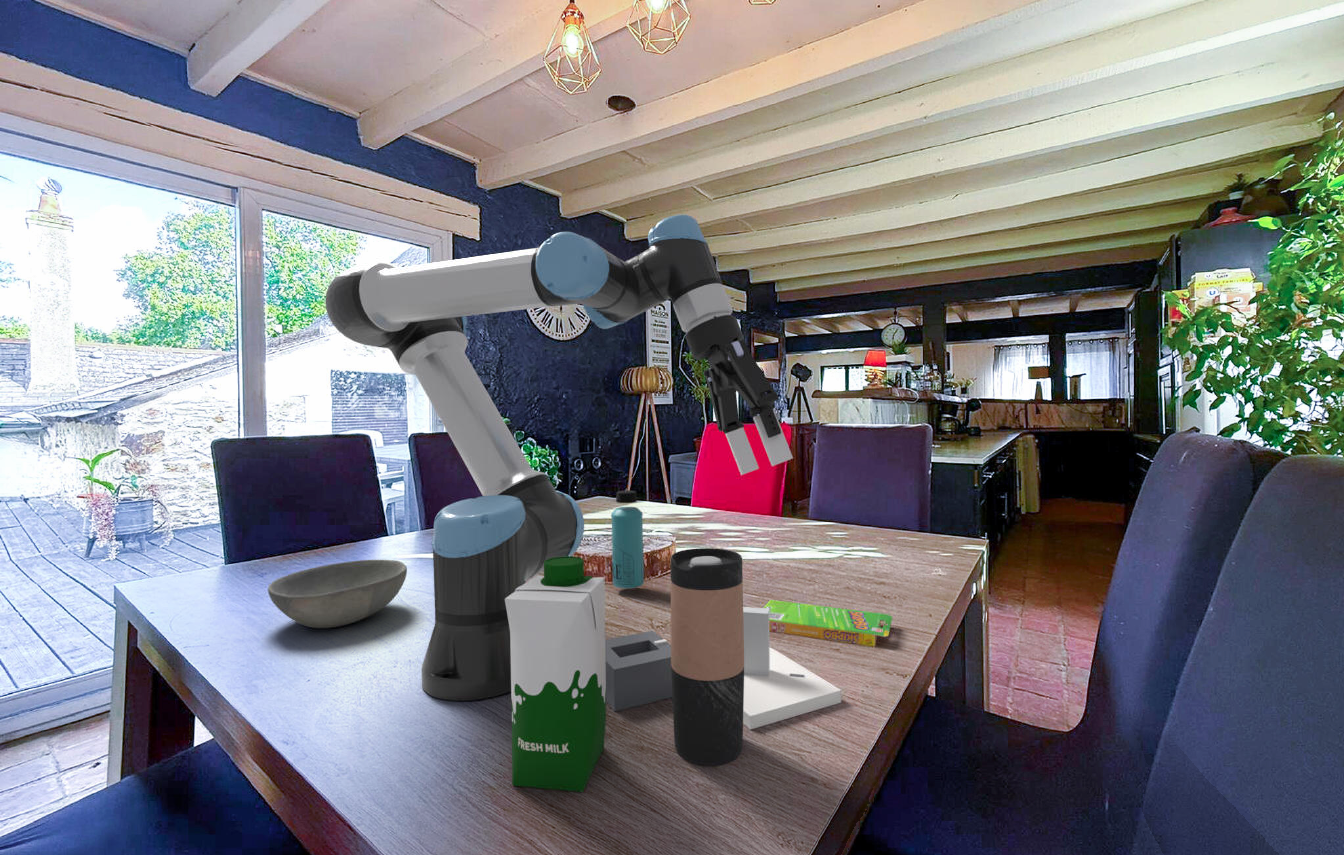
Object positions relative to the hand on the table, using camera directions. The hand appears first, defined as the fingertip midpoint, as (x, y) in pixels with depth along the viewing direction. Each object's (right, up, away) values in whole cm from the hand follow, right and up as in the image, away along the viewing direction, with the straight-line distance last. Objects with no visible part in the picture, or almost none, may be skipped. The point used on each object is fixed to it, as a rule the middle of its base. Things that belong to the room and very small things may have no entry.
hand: (765, 467), depth 78 cm
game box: (+12, -28, +15) cm, 34 cm away
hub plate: (-2, -28, -4) cm, 28 cm away
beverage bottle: (-21, -27, +36) cm, 50 cm away
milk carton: (-24, -28, -21) cm, 42 cm away
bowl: (-70, -28, +22) cm, 79 cm away
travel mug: (-9, -28, -18) cm, 34 cm away
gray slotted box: (-17, -28, -4) cm, 33 cm away
